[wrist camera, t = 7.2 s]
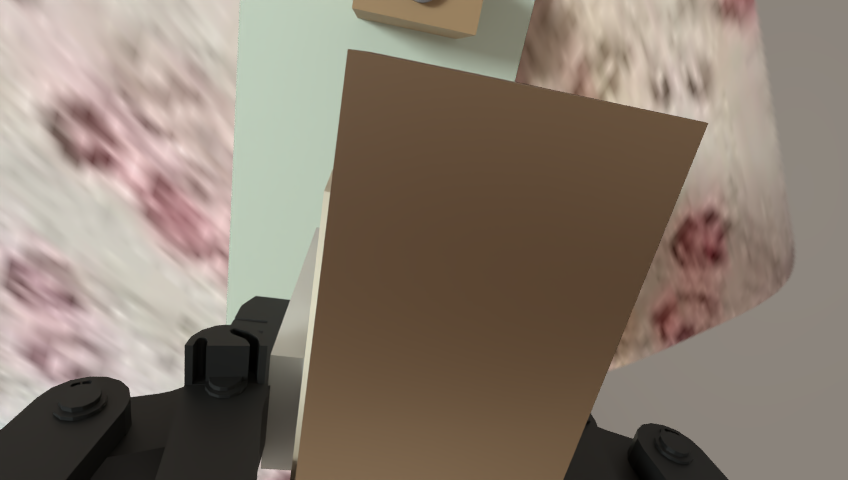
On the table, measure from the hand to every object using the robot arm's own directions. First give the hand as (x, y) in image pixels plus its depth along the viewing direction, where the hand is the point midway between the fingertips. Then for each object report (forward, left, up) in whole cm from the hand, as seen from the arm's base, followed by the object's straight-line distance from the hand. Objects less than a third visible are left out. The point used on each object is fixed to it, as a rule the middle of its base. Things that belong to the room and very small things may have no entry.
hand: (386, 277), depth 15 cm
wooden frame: (0, 0, 0) cm, 0 cm away
